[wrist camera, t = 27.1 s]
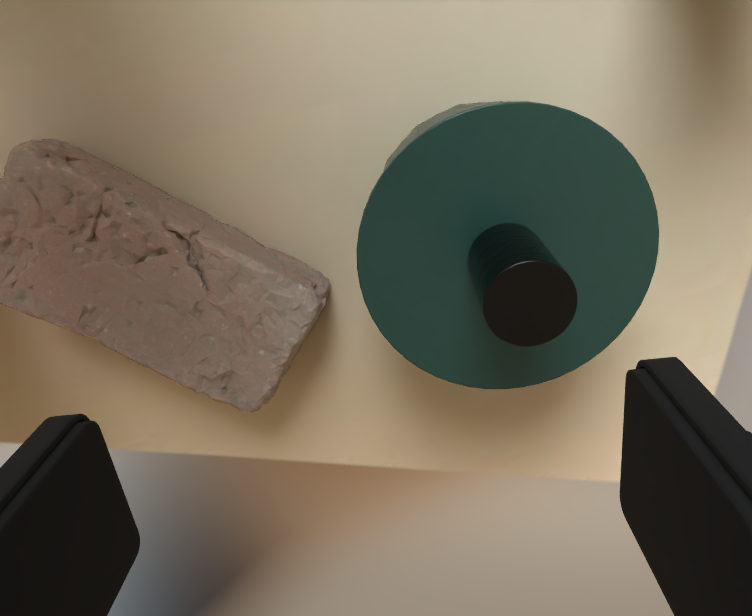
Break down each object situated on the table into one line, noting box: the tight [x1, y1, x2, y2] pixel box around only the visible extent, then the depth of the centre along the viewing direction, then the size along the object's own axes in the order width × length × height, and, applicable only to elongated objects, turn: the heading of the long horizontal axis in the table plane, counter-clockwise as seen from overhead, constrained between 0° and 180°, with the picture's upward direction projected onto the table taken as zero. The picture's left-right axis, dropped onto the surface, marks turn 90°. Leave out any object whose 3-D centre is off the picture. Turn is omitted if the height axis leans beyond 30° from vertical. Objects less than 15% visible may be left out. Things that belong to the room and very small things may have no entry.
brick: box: [0, 139, 331, 412], centre depth 31 cm, size 17×8×5 cm, turn 61°
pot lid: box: [357, 101, 659, 389], centre depth 23 cm, size 12×12×6 cm
